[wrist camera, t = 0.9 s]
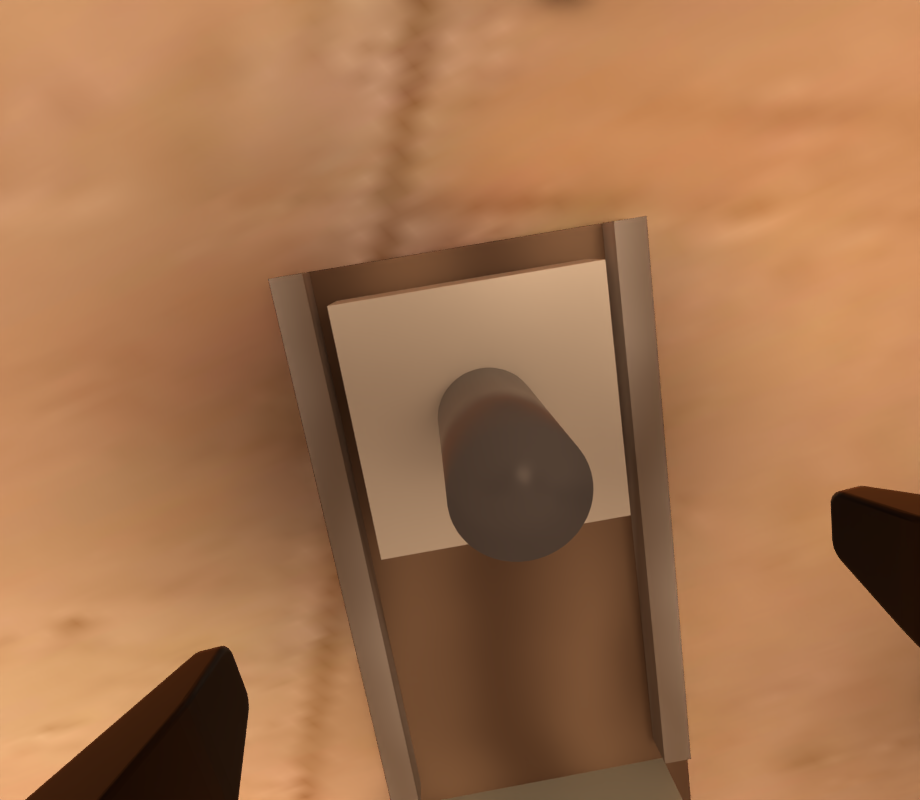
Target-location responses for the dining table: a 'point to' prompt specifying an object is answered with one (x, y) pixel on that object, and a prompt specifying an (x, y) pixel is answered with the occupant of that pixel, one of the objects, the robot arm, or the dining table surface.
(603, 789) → the button housing
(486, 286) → the carriage
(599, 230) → the track
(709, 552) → the dining table surface
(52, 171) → the dining table surface
